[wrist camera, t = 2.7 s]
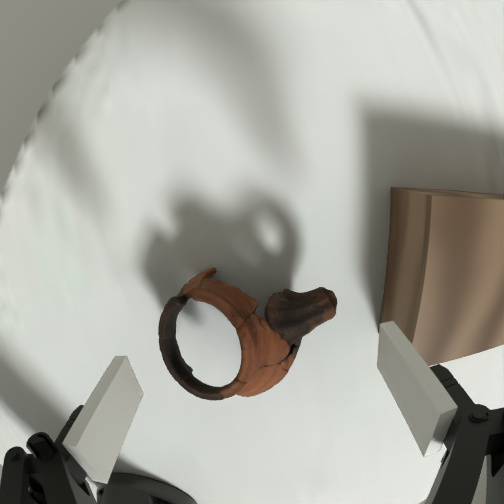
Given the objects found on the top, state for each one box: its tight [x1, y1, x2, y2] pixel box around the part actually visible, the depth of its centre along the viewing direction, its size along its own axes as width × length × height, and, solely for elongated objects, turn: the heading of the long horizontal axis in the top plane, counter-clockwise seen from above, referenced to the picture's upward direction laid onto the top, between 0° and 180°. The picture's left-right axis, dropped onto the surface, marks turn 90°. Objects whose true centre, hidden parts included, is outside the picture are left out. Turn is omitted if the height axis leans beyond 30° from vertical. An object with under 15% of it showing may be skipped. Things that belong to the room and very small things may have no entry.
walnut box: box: [378, 187, 504, 366], centre depth 20 cm, size 18×12×6 cm, turn 92°
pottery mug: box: [158, 268, 337, 400], centre depth 21 cm, size 12×10×8 cm
